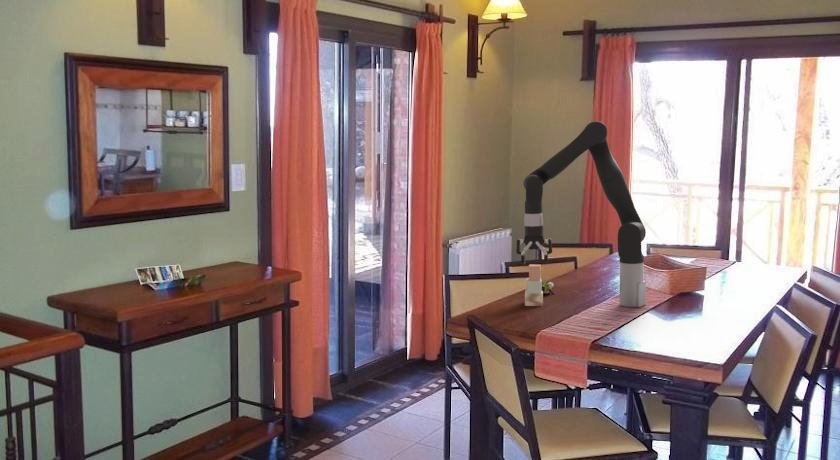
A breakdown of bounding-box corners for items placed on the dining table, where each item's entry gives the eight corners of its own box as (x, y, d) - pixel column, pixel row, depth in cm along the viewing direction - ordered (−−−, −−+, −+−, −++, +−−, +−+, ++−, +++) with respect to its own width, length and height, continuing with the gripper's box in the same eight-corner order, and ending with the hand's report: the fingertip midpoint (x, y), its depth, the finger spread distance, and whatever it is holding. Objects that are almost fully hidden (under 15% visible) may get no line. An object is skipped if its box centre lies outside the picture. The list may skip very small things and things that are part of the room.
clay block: (540, 279, 319) (540, 264, 319) (540, 281, 315) (540, 266, 314) (529, 278, 320) (529, 264, 319) (529, 280, 316) (528, 266, 315)
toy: (550, 292, 326) (563, 287, 338) (537, 280, 328) (550, 276, 341) (541, 304, 328) (554, 299, 341) (528, 292, 331) (541, 287, 344)
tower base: (542, 302, 321) (542, 290, 320) (542, 306, 314) (542, 294, 314) (525, 302, 322) (525, 290, 322) (525, 306, 315) (524, 293, 315)
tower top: (541, 290, 320) (541, 278, 320) (541, 293, 314) (541, 281, 314) (526, 290, 321) (526, 278, 320) (526, 293, 315) (526, 281, 315)
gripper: (552, 223, 317) (552, 262, 319) (516, 223, 320) (517, 262, 322) (551, 225, 310) (552, 265, 312) (515, 225, 313) (516, 265, 314)
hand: (534, 264), depth 317 cm, fingers open, 8 cm apart
